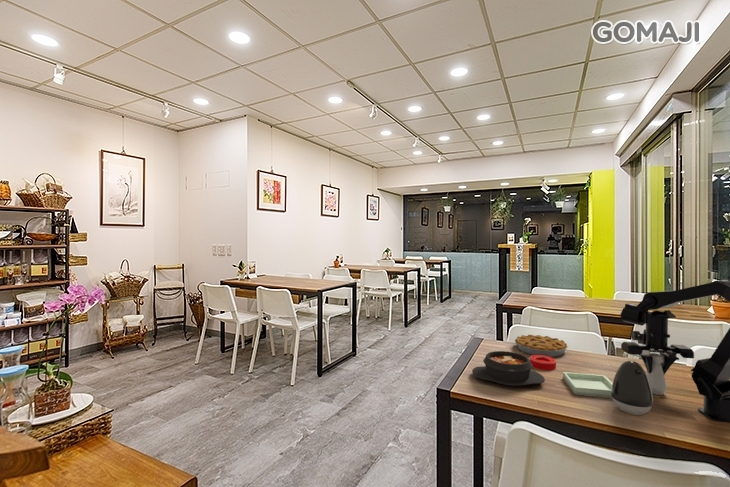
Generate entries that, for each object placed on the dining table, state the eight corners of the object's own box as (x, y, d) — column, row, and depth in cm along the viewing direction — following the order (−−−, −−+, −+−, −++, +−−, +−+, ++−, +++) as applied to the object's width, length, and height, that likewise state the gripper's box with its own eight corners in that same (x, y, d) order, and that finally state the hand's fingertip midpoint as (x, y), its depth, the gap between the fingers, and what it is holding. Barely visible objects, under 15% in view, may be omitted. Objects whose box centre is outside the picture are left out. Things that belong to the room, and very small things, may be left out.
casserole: (474, 387, 125) (474, 364, 125) (470, 368, 144) (470, 347, 143) (551, 393, 120) (551, 369, 120) (537, 372, 138) (537, 351, 138)
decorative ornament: (549, 362, 150) (549, 355, 150) (560, 371, 140) (560, 363, 140) (526, 361, 151) (526, 354, 151) (534, 370, 141) (534, 362, 141)
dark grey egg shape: (621, 418, 104) (622, 366, 104) (604, 401, 114) (605, 354, 114) (661, 421, 102) (662, 368, 102) (640, 404, 112) (641, 356, 112)
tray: (621, 398, 116) (621, 391, 116) (575, 394, 119) (575, 387, 119) (604, 381, 129) (604, 375, 129) (562, 378, 133) (562, 372, 133)
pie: (528, 340, 181) (528, 330, 181) (575, 350, 164) (575, 340, 164) (506, 349, 167) (506, 338, 167) (555, 362, 150) (555, 350, 150)
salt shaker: (670, 397, 117) (671, 357, 117) (650, 395, 118) (651, 356, 118) (659, 389, 123) (660, 352, 122) (641, 388, 124) (641, 351, 124)
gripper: (674, 324, 125) (674, 368, 126) (614, 321, 130) (613, 364, 130) (695, 333, 115) (694, 381, 115) (629, 329, 119) (628, 375, 120)
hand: (655, 374), depth 120 cm, fingers closed on salt shaker, 3 cm apart
